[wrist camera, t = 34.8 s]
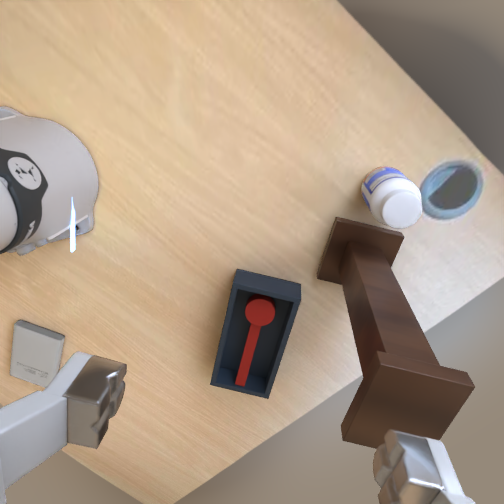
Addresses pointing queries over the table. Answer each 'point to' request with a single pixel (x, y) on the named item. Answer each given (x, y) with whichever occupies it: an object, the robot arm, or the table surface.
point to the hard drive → (35, 353)
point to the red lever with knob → (254, 330)
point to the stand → (388, 342)
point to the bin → (269, 337)
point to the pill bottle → (392, 197)
